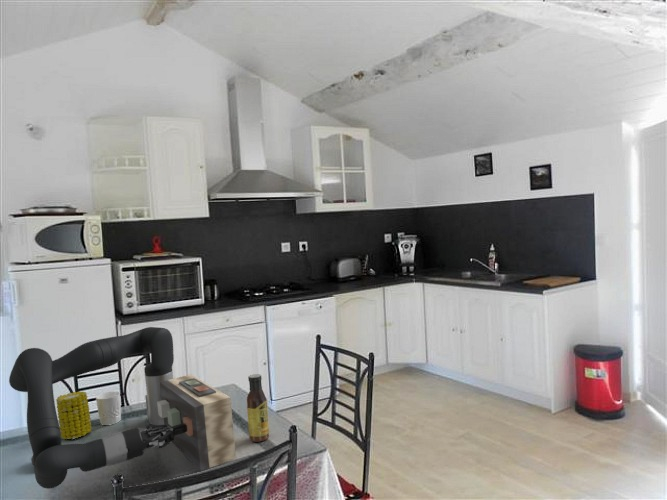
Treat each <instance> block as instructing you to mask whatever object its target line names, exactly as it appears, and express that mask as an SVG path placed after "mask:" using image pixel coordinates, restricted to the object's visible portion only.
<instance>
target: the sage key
mask: <svg viewBox="0 0 667 500" xmlns="http://www.w3.org/2000/svg"><path fill="white" fill-rule="evenodd" d="M167 416H168V424H169V425H170V426H176V425H179V424H181V419H180V411H179V410H177V409H176V408H172V409H169V410H167Z"/></svg>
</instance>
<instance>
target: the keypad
mask: <svg viewBox="0 0 667 500" xmlns="http://www.w3.org/2000/svg"><path fill="white" fill-rule="evenodd" d="M160 388H161V398H162V400H166V401H167V402H169V406H170V409H172V408H176V409H177V410H179V411H180V419H181V424H183V418H184V417H187V416H188V417H189V418H190V419H192V426H193V435H192V436H188V435H187V434H186V433H182V434H179V435H175V436H174V440H173V441H172V442H171V443H172V444H173V445H174V446H175V447H176V448H177V449H178V450H179V451H180V452H181V453H182V454H183V455H184V456H185V457H186V458H187V459H188V460H189V461H190V462H191V463H192V464H193V465H194V466H195V467H197V468H198V471H201V472H202V471H205V470H207V469H210V468H213V467H215V466H218V465H221V464H225V463H228V462H230V461H233V460H236V459H237V455H236V444H235V433H234V424H233V422H234V421H233V411H232V410H233V409H232V401H231V400H232V399H231V397H230V395H227V394H225V393H224V392H222V391H220V390H219V389H217V388H215V387H213V386H212V385H210V384H208V383H207V382H205V380H204V381H203V380H202V379H200V378H198V377H197V376H195V375H193V374H187V375H183V376H180V377H173V379H170V380H166V381H162V382H160ZM163 425H167V427H168V426H170V425H169V424H168V417H165V418H164V424H163Z"/></svg>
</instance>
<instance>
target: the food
mask: <svg viewBox="0 0 667 500" xmlns="http://www.w3.org/2000/svg"><path fill="white" fill-rule="evenodd" d="M55 401H56V405H57V406H56V409H57V418H58V423H59V427H60V431H61V439H62V438H64V439H63V440H65V439H66V438H67V439H71V438H77V439H79V438H78V437H81V436H84V437H85V436H86V435H87V434H89V433H91V432H92V422H91V420H92V419H91V413H90V406H89V402H88V401H89V399H88V394H87V392H86V391H77V392H76V391H74V392H68V393H67V394H63V395H59V396H57V398H56V400H55ZM81 438H82V437H81ZM67 439H66V440H67ZM71 440H72V439H71Z"/></svg>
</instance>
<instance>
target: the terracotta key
mask: <svg viewBox="0 0 667 500" xmlns="http://www.w3.org/2000/svg"><path fill="white" fill-rule="evenodd" d="M183 423H184V424H186V425H187V432H185V433H186V434H187V435H188V436H192V435H193V426H192V419H190V418H189V417H188V416H187V417H184V418H183Z"/></svg>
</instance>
